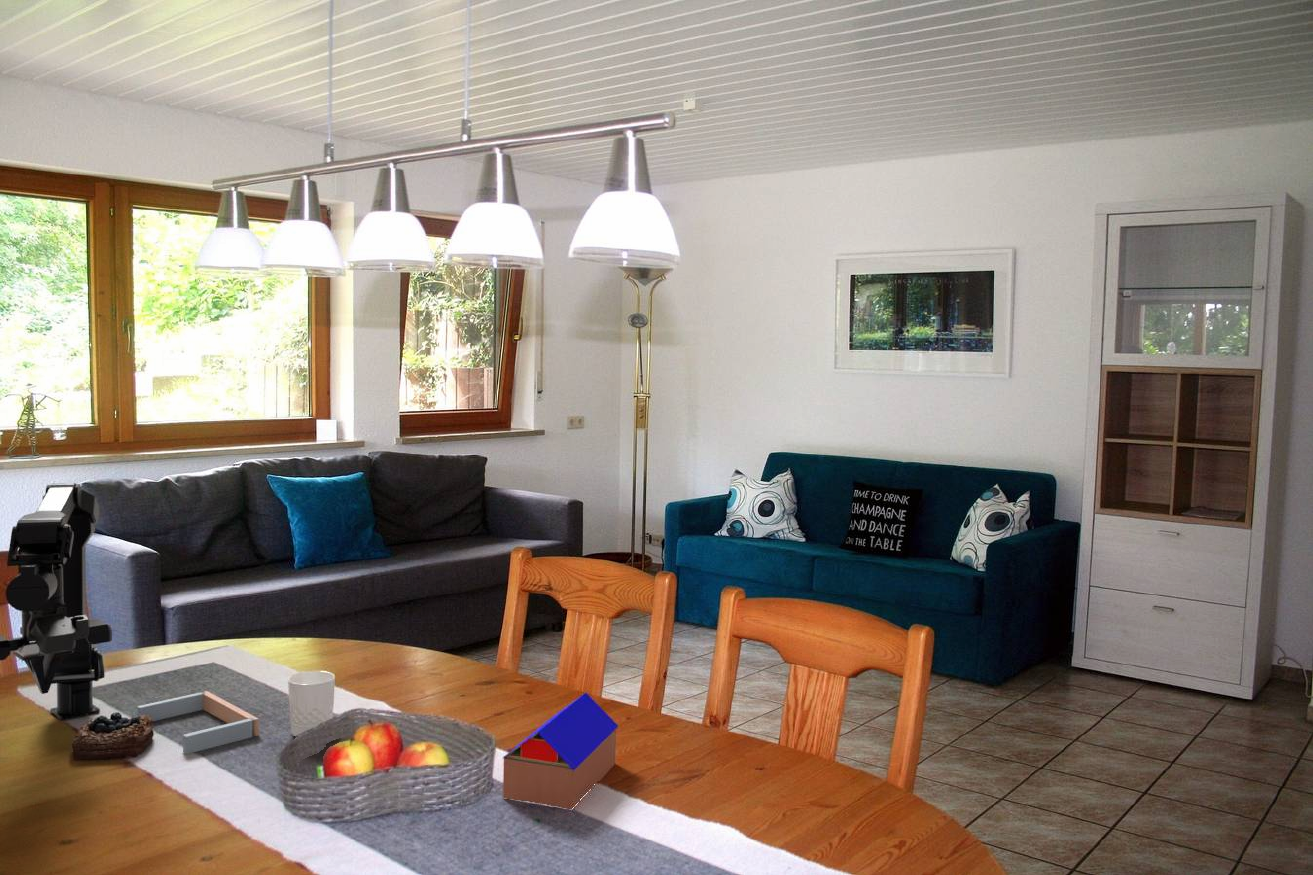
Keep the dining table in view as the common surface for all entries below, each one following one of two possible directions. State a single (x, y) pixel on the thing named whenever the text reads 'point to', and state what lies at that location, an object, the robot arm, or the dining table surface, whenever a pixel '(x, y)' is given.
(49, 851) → the dining table surface
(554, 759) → the house
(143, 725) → the pastry
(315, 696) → the white cup
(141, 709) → the corral
